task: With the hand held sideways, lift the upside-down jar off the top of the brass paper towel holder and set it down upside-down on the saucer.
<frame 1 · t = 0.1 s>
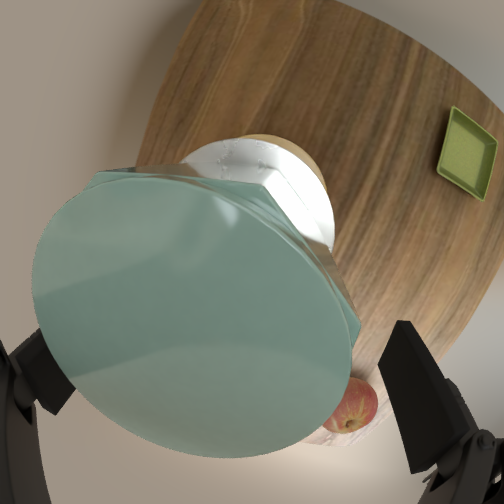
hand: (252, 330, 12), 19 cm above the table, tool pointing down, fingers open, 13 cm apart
apple: (343, 385, 36), on the table
saucer: (461, 154, 23), on the table
towel holder: (259, 200, 28), on the table
jar: (236, 239, 15), point 15 cm above the table, touching towel holder
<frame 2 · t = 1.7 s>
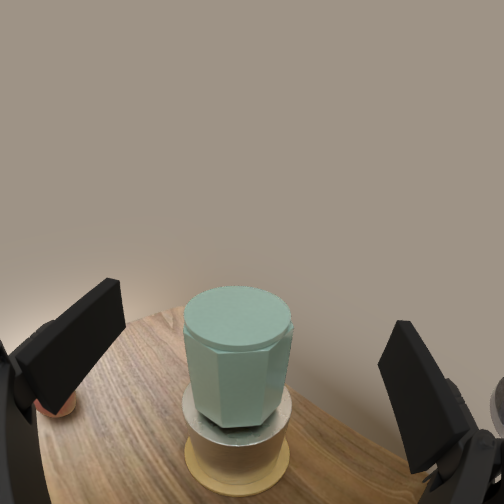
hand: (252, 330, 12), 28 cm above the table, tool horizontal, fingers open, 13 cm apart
apple: (61, 408, 30), on the table
towel holder: (237, 454, 29), on the table
jar: (236, 394, 23), point 15 cm above the table, touching towel holder
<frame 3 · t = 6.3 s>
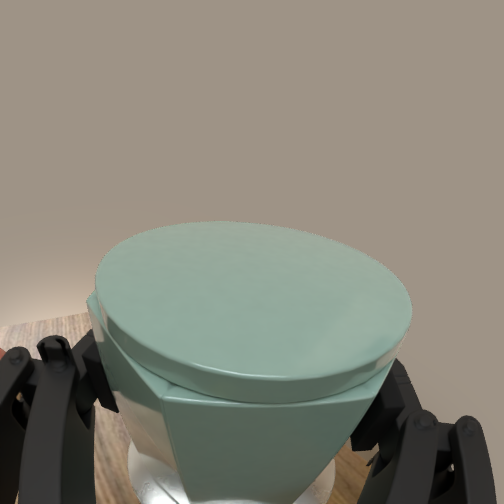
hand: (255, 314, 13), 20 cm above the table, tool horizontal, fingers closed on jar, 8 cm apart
jar: (233, 451, 10), point 15 cm above the table, touching gripper, towel holder
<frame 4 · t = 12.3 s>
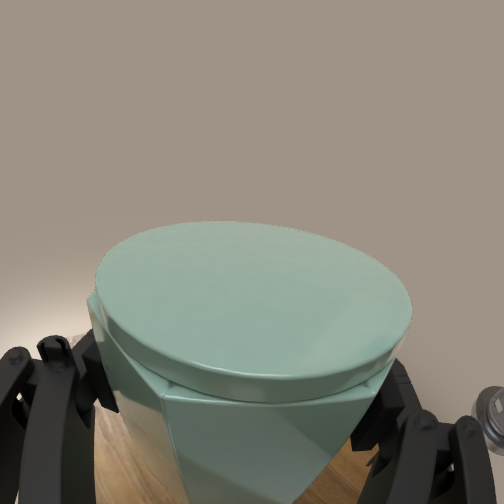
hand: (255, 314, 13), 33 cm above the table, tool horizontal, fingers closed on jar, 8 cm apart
jar: (233, 450, 10), point 28 cm above the table, touching gripper
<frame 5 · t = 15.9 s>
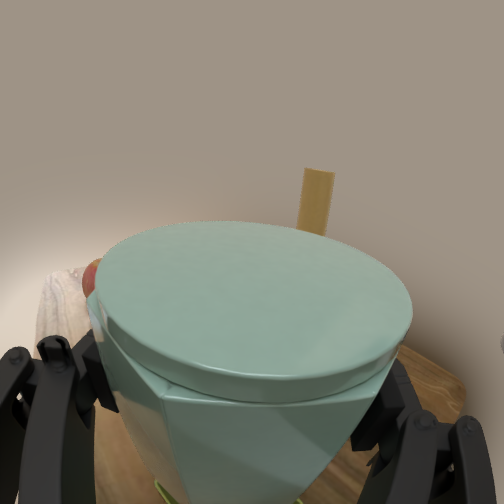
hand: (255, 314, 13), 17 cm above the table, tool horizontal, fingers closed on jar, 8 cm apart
apple: (110, 305, 41), on the table
towel holder: (288, 341, 38), on the table
jar: (233, 451, 10), point 12 cm above the table, touching gripper
when the fingers open (7 cm above the table, at t = 18.6 s): jar stays where it is, resting on saucer.
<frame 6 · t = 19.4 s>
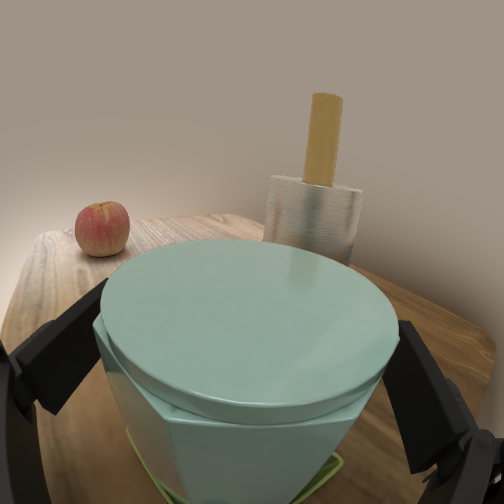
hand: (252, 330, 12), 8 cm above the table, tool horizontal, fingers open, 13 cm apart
apple: (103, 254, 38), on the table
saucer: (230, 470, 11), on the table, touching jar
towel holder: (299, 287, 35), on the table
jar: (231, 455, 11), point 2 cm above the table, touching saucer
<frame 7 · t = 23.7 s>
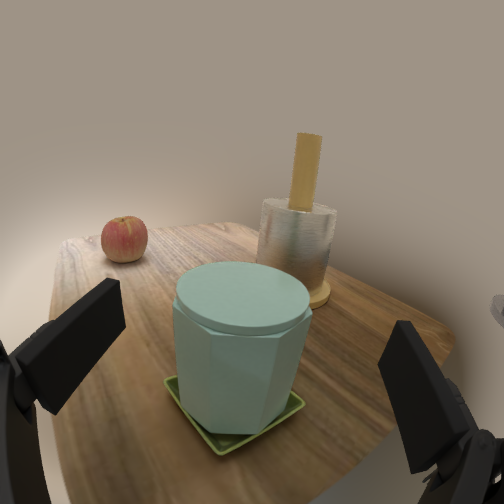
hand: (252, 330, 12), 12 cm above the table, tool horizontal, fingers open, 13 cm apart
apple: (125, 260, 46), on the table
saucer: (231, 410, 20), on the table, touching jar
towel holder: (286, 287, 44), on the table
jar: (232, 394, 20), point 2 cm above the table, touching saucer
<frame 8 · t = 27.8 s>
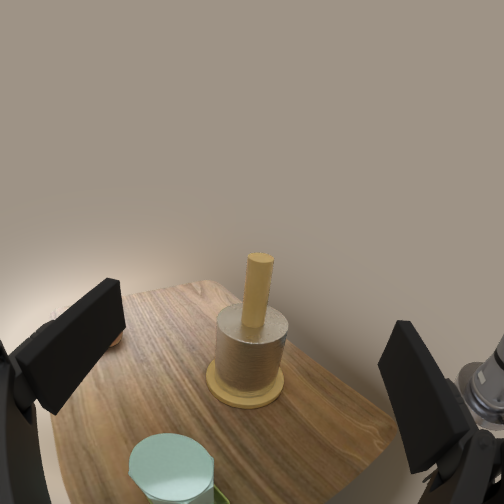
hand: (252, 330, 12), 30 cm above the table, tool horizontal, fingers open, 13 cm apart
towel holder: (244, 379, 45), on the table
jar: (181, 492, 21), point 2 cm above the table, touching saucer
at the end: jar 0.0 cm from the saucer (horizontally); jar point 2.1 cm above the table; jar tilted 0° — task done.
